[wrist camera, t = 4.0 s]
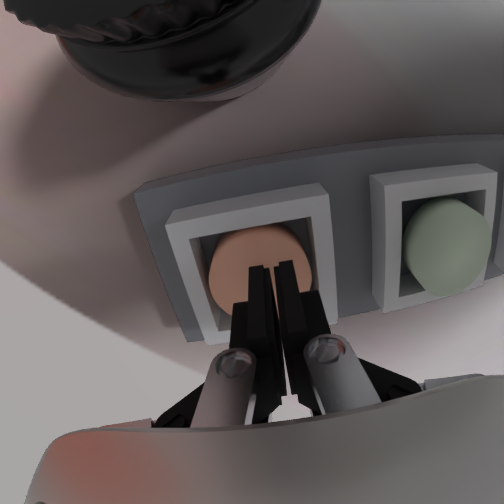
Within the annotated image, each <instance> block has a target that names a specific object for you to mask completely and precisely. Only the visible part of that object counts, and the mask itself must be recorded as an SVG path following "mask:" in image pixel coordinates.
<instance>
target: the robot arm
mask: <svg viewBox="0 0 504 504" xmlns="http://www.w3.org/2000/svg"><path fill="white" fill-rule="evenodd" d="M274 276H275V285H276V295H277V304H278V311H277V306H276V301H275V295H274V290H273V285H272V279H271V274H270V269H269V267H268V268H264V266H263V265H257V266H251V267H249V274H248V301H244V302H237V303H233V308H232V320H231V332H230V344H229V349H227V350H224V351H222V352H221V353H219V354H218V355H217V356H216V357H215V358H214V359H213V361H212V363H211V365H210V368H209V371H208V374H207V377H206V380H205V382H204V383H203V384H202V385H200V386H199V387H198V388H197V389H195V390H194V391H192V392H191V393H190V394H188V395H187V396H186V397H184V398H183V399H182V400H181V401H179V402H178V403H176V404H175V405H174V406H172V407H171V408H170V409H168V410H167V411H166V412H164V413H163V414H162V415H161V416H160V417H159V418H158V419H157V420H155V421H153V420H152V419H151V418H149V419H143V420H138V421H132V422H126V423H120V424H113V425H106V426H102V427H99V428H90V429H82V430H78V431H75V432H70V433H68V434H65V435H62V436H60V437H58V438H57V439H55V440H54V441H53V442H52V443H51V444H50V445H49V446H48V448H47V449H46V451H45V452H44V454H43V456H42V458H41V460H40V462H39V464H38V467H37V469H36V471H35V473H34V476H33V479H32V482H31V484H30V487H29V490H28V493H27V496H26V499H25V503H24V504H504V375H486V376H485V375H482V374H469V375H462V376H455V377H447V378H438V379H428V380H424V383H419V384H417V383H416V382H415V381H413V380H411V379H410V378H407V377H404V376H402V375H399V374H397V373H394V372H392V371H389V370H387V369H384V368H382V367H379V366H377V365H375V364H372V363H370V362H367V361H365V360H363V359H360V358H358V357H357V356H356V354H355V352H354V351H353V349H352V347H351V345H350V343H349V342H348V341H347V340H346V339H345V338H343V337H342V336H339V335H336V334H331V331H330V328H329V324H328V321H327V317H326V314H325V310H324V307H323V303H322V300H321V297H320V293H319V290H312V291H306V292H299V287H298V283H297V278H296V273H295V269H294V264H293V260H287V261H281V262H279V266H274ZM278 314H279V317H278ZM282 345H283V348H282ZM283 350H284V356H285V361H286V366H287V372H288V377H289V383H290V388H291V394H292V395H294V394H297V395H298V401H299V403H301V404H303V405H304V406H306V407H308V408H310V414H311V417H307V418H300V419H293V420H286V421H278V422H272V412H273V411H274V410H275V409H276V408H277V407H278V406H279V405H282V400H281V396H287V390H286V379H285V369H284V359H283Z"/></svg>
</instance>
